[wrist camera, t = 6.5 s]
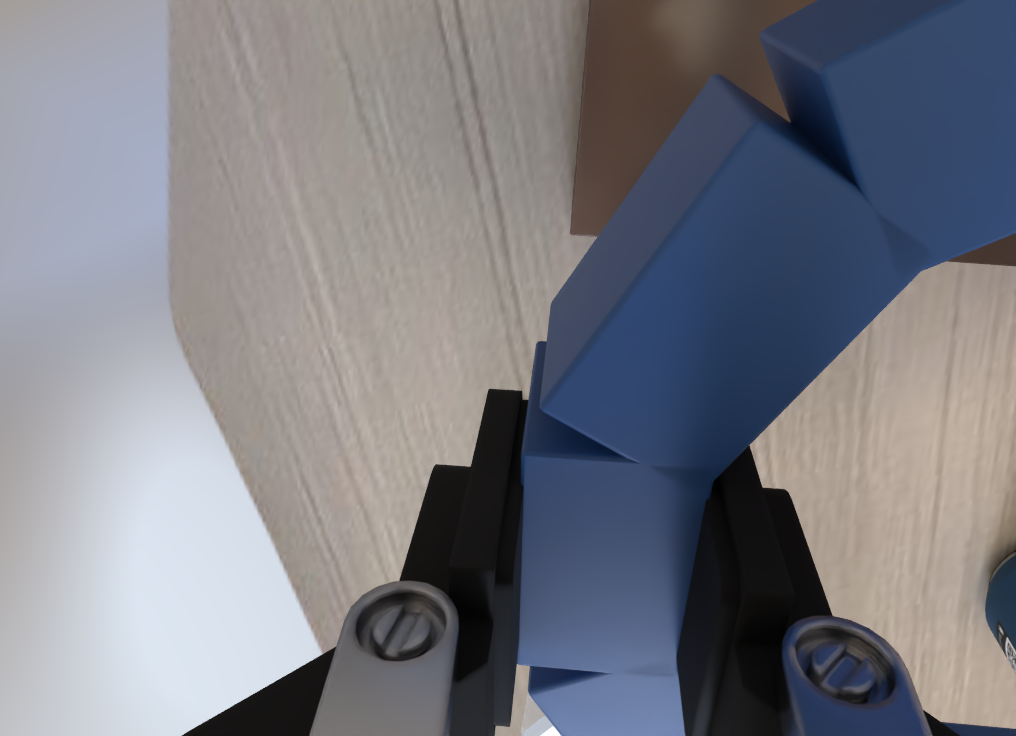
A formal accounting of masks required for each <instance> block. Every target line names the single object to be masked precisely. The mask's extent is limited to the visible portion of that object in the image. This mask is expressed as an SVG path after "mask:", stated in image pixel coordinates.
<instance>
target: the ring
mask: <svg viewBox="0 0 1016 736" xmlns="http://www.w3.org/2000/svg"><path fill="white" fill-rule="evenodd" d="M759 39H760V42H761V44H762V47H763V50H764V52H765V55H766V58H767V60H768V63H769V66H770V68H771V71H772V74H773V77H774V79H775V82H776V85H777V87H778V90H779V93H780V95H781V98H782V101H783V103H784V106H785V109H786V112H787V114H788V117H789V120H790V122H791V123H790V122H789V121H787V120H786V119H784V118H783V117H781V116H780V115H779V114H777V113H776V112H774V111H773V110H771V109H770V108H768V107H767V106H766V105H764V104H763V103H761V102H760V101H758V100H757V99H755V98H754V97H753V96H751V95H750V94H748V93H747V92H745V91H744V90H742V89H741V88H740V87H738V86H737V85H735V84H734V83H732V82H731V81H729V80H728V79H727V78H725V77H724V76H722V75H720V74H714V75H713V76H711V77H710V78H709V80H708V81H707V83H706V84H705V86H704V87H703V88H702V90H701V91H700V93H699V94H698V95H697V97H696V98H695V100H694V101H693V103H692V104H691V105H690V107H689V108H688V110H687V111H686V112H685V114H684V115H683V117H682V118H681V120H680V121H679V122H678V124H677V125H676V127H675V128H674V129H673V131H672V132H671V134H670V135H669V137H668V138H667V139H666V141H665V142H664V144H663V145H662V147H661V148H660V149H659V151H658V152H657V154H656V155H655V156H654V158H653V159H652V161H651V162H650V164H649V165H648V166H647V168H646V169H645V171H644V172H643V173H642V175H641V176H640V178H639V179H638V181H637V182H636V183H635V185H634V186H633V188H632V189H631V190H630V192H629V193H628V195H627V196H626V198H625V199H624V200H623V202H622V203H621V205H620V206H619V208H618V209H617V210H616V212H615V213H614V215H613V216H612V217H611V219H610V220H609V222H608V223H607V225H606V226H605V227H604V229H603V230H602V232H601V233H600V234H599V236H598V237H597V239H596V240H595V242H594V243H593V244H592V246H591V247H590V249H589V250H588V252H587V253H586V254H585V256H584V257H583V259H582V260H581V261H580V263H579V264H578V266H577V267H576V269H575V270H574V271H573V273H572V274H571V276H570V277H569V278H568V280H567V281H566V283H565V284H564V286H563V287H562V288H561V290H560V291H559V293H558V294H557V295H556V297H555V298H554V300H553V301H552V303H551V308H550V317H549V326H548V335H547V342H544V341H539V342H537V344H536V349H535V356H534V364H533V371H532V378H531V386H530V393H529V400H528V407H527V415H526V422H525V429H524V437H523V444H522V451H521V481H520V483H521V485H522V486H524V491H523V523H522V555H521V587H520V619H519V645H518V655H517V664H519V665H527V666H530V672H529V684H528V692H529V695H530V696H531V698H532V699H533V700H534V702H535V703H536V704H537V705H538V707H539V708H540V709H541V710H542V712H543V713H544V714H545V716H546V717H547V718H548V719H549V721H550V722H551V723H552V725H553V726H554V727H555V728H556V730H557V731H558V732H559V733H560V735H561V736H685V730H684V721H683V713H682V704H681V695H680V687H679V678H678V669H677V660H676V656H677V651H678V645H679V640H680V635H681V630H682V624H683V619H684V614H685V608H686V603H687V598H688V593H689V587H690V582H691V577H692V571H693V566H694V561H695V556H696V550H697V545H698V540H699V534H700V529H701V524H702V518H703V513H704V508H705V503H706V500H708V499H710V496H711V490H712V485H713V481H714V480H715V479H716V478H717V477H718V476H719V475H720V474H721V473H722V472H723V471H724V470H725V469H726V468H727V467H728V466H729V465H730V464H731V463H732V462H733V461H734V460H735V459H736V458H737V457H738V456H739V455H740V454H741V453H742V452H743V451H744V450H745V449H746V448H747V447H748V446H749V445H750V444H751V443H752V442H753V441H754V440H755V439H756V438H757V437H758V436H759V435H760V434H761V433H762V432H763V431H764V430H765V429H766V428H767V427H768V426H769V425H770V424H771V423H772V422H773V421H774V420H775V418H776V417H777V416H778V415H779V414H780V413H781V412H782V411H783V410H784V409H785V408H786V407H787V406H788V405H789V404H790V403H791V402H792V401H793V400H794V399H795V398H796V397H797V396H798V395H799V394H800V393H801V392H802V391H803V390H804V389H805V388H806V387H807V386H808V385H809V384H810V383H811V382H812V381H813V380H814V379H815V378H816V377H817V376H818V375H819V374H820V373H821V372H822V371H823V370H824V369H825V368H826V367H827V366H828V365H829V364H830V363H831V362H832V361H833V360H834V359H835V358H836V357H837V356H838V355H839V354H840V353H841V352H842V351H843V350H844V349H845V348H846V347H847V345H848V344H849V343H850V342H851V341H852V340H853V339H854V338H855V337H856V336H857V335H858V334H859V333H860V332H861V331H862V330H863V329H864V328H865V327H866V326H867V325H868V324H869V323H870V322H871V321H872V320H873V319H874V318H875V317H876V316H877V315H878V314H879V313H880V312H881V311H882V310H883V309H884V308H885V307H886V306H887V305H888V304H889V303H890V302H891V301H892V300H893V299H894V298H895V297H896V296H897V295H898V294H899V293H900V292H901V291H902V290H903V289H904V288H905V287H906V286H907V285H908V284H909V283H910V282H911V281H912V280H913V279H914V278H915V277H916V276H917V275H918V273H919V272H920V271H923V270H925V269H928V268H930V267H933V266H935V265H938V264H940V263H943V262H945V261H948V260H950V259H953V258H955V257H957V256H960V255H962V254H965V253H967V252H970V251H972V250H975V249H977V248H980V247H982V246H985V245H987V244H990V243H992V242H995V241H997V240H1000V239H1002V238H1005V237H1007V236H1009V235H1012V234H1014V233H1016V0H817V1H815V2H814V3H812V4H810V5H808V6H806V7H804V8H802V9H801V10H799V11H797V12H795V13H793V14H791V15H789V16H787V17H786V18H784V19H782V20H780V21H778V22H776V23H774V24H773V25H771V26H769V27H767V28H765V29H763V30H762V31H761V33H760V37H759ZM941 723H943V724H944V725H946V726H947V727H948V728H950V729H951V730H953V731H954V732H956V733H957V734H959V735H960V736H1016V729H1010V728H999V727H989V726H978V725H967V724H956V723H945V722H941Z"/></svg>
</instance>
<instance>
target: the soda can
mask: <svg viewBox="0 0 1016 736" xmlns="http://www.w3.org/2000/svg"><path fill="white" fill-rule="evenodd" d="M985 612H986V619H987V622H988V625H989V627H990V629H991V631H992V633H993V634H994V636H995V638H996V640H997V641H998V643H999V645H1000V647H1001V648H1002V650H1003V652H1004V654H1005V655H1006V657H1007V659H1008V661H1009V662H1010V664H1011V666H1012V668H1013V669H1014V671H1015V673H1016V551H1015V552H1014V553H1012V554H1011V555H1009V556H1008V557H1007V558H1006V559H1005V560H1004V561H1002V562H1001V564H1000V565H999V566H998V567H997V568H996V570H995V571H994V573H993V575H992V577H991V580H990V584H989V588H988V593H987V598H986V607H985Z"/></svg>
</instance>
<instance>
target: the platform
mask: <svg viewBox="0 0 1016 736" xmlns="http://www.w3.org/2000/svg"><path fill="white" fill-rule="evenodd" d="M815 1H817V0H590V1H589V13H588V25H587V37H586V49H585V60H584V72H583V84H582V96H581V108H580V120H579V132H578V144H577V156H576V167H575V179H574V191H573V203H572V215H571V228H570V234H571V235H581V236H595V237H598V236H599V234H600V233H601V232H602V230H603V229H604V227H605V226H606V225H607V223H608V222H609V220H610V219H611V217H612V216H613V215H614V213H615V212H616V210H617V209H618V208H619V206H620V205H621V203H622V202H623V200H624V199H625V198H626V196H627V195H628V193H629V192H630V190H631V189H632V188H633V186H634V185H635V183H636V182H637V181H638V179H639V178H640V176H641V175H642V173H643V172H644V171H645V169H646V168H647V166H648V165H649V164H650V162H651V161H652V159H653V158H654V156H655V155H656V154H657V152H658V151H659V149H660V148H661V147H662V145H663V144H664V142H665V141H666V139H667V138H668V137H669V135H670V134H671V132H672V131H673V129H674V128H675V127H676V125H677V124H678V122H679V121H680V120H681V118H682V117H683V115H684V114H685V112H686V111H687V110H688V108H689V107H690V105H691V104H692V103H693V101H694V100H695V98H696V97H697V95H698V94H699V93H700V91H701V90H702V88H703V87H704V86H705V84H706V83H707V81H708V80H709V78H710V77H711V76H713V75H714V74H720V75H722V76H724V77H725V78H727V79H728V80H729V81H731V82H732V83H734V84H735V85H737V86H738V87H740V88H741V89H742V90H744V91H745V92H747V93H748V94H750V95H751V96H753V97H754V98H755V99H757V100H758V101H760V102H761V103H763V104H764V105H766V106H767V107H768V108H770V109H771V110H773V111H774V112H776V113H777V114H779V115H780V116H781V117H783V118H784V119H786V120H787V121H789V122H790V120H789V117H788V114H787V112H786V109H785V106H784V103H783V101H782V98H781V95H780V93H779V90H778V87H777V85H776V82H775V79H774V77H773V74H772V71H771V68H770V66H769V63H768V60H767V58H766V55H765V52H764V50H763V47H762V44H761V42H760V39H759V37H760V33H761V31H762V30H763V29H765V28H767V27H769V26H771V25H773V24H774V23H776V22H778V21H780V20H782V19H784V18H786V17H787V16H789V15H791V14H793V13H795V12H797V11H799V10H801V9H802V8H804V7H806V6H808V5H810V4H812V3H814V2H815ZM790 123H791V122H790ZM948 261H949V262H963V263H977V264H992V265H1006V266H1016V233H1014V234H1012V235H1009V236H1007V237H1005V238H1002V239H1000V240H997V241H995V242H992V243H990V244H987V245H985V246H982V247H980V248H977V249H975V250H972V251H970V252H967V253H965V254H962V255H960V256H957V257H955V258H953V259H950V260H948Z"/></svg>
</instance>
